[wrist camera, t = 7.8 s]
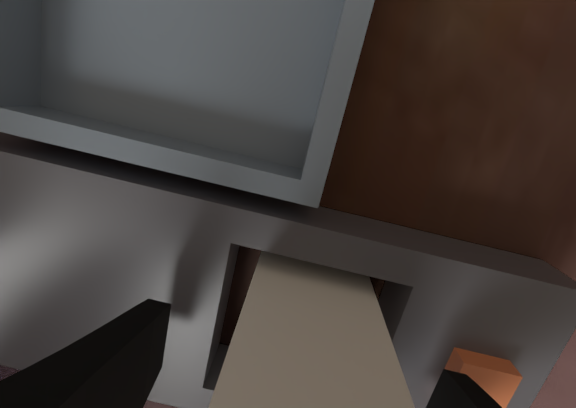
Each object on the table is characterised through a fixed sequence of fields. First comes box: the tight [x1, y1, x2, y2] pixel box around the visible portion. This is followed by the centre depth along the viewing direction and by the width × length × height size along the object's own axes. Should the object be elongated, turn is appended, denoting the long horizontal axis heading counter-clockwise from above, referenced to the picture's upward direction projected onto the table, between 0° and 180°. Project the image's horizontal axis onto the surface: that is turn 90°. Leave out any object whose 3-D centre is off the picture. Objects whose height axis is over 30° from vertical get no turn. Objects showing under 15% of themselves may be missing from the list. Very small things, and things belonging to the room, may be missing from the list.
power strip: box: [0, 132, 576, 408], centre depth 10 cm, size 7×25×3 cm, turn 77°
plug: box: [208, 251, 415, 408], centre depth 8 cm, size 3×3×7 cm
